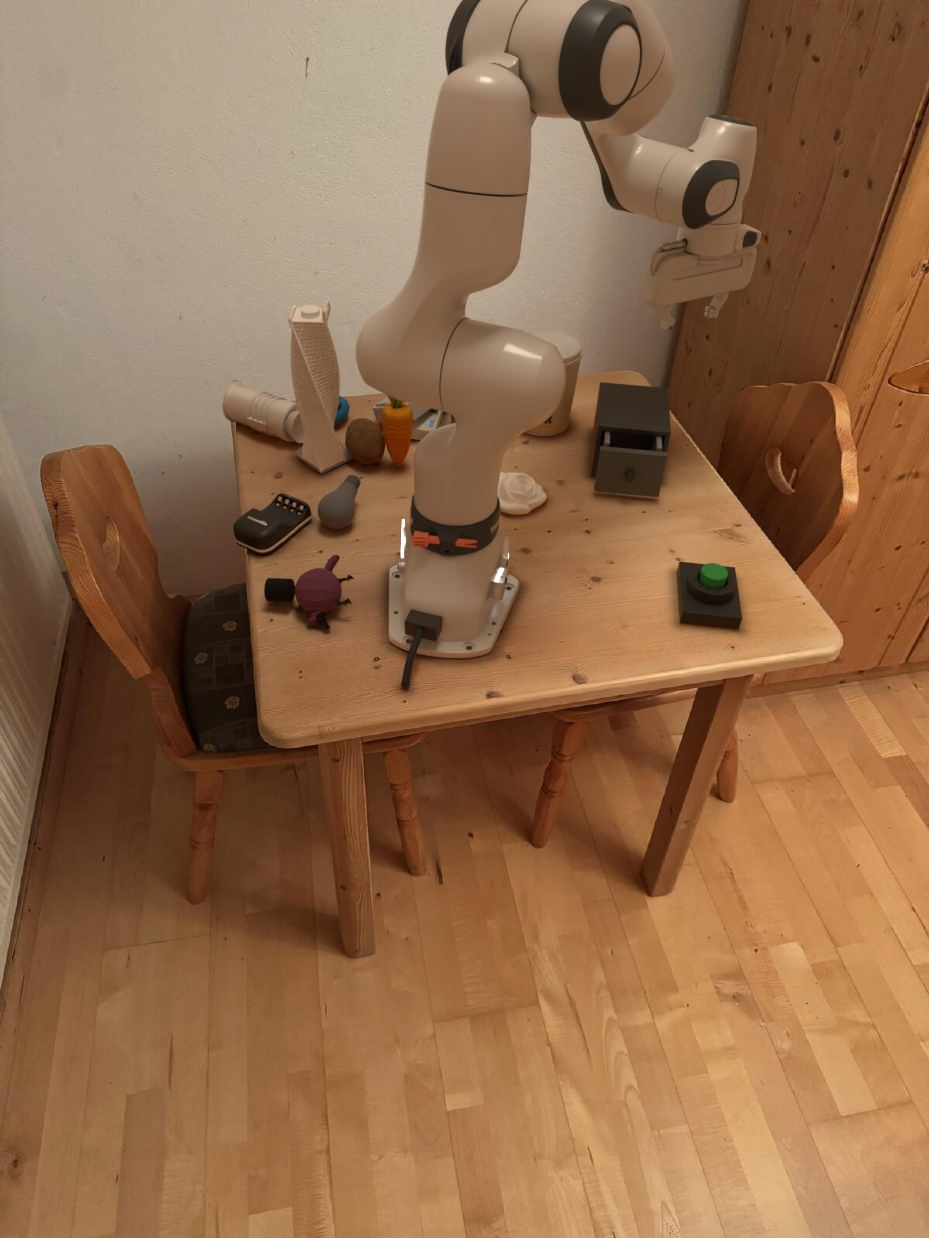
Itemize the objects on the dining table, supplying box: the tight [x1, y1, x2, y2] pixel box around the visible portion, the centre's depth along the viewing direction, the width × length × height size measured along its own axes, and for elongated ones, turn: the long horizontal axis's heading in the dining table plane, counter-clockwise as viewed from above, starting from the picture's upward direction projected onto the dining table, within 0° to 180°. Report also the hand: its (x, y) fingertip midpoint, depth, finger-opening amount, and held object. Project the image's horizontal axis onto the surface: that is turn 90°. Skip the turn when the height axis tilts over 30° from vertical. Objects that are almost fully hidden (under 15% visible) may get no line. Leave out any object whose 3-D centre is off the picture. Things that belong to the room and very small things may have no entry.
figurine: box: [263, 554, 355, 631], centre depth 121 cm, size 8×8×12 cm
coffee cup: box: [524, 329, 584, 437], centre depth 155 cm, size 12×12×15 cm
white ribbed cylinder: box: [221, 383, 305, 444], centre depth 154 cm, size 7×7×15 cm
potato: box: [344, 417, 386, 465], centre depth 148 cm, size 7×10×6 cm
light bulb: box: [317, 474, 362, 530], centre depth 136 cm, size 6×6×10 cm
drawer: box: [593, 430, 668, 498], centre depth 145 cm, size 15×10×8 cm
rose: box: [498, 471, 548, 516], centre depth 142 cm, size 10×4×10 cm
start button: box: [699, 562, 728, 589], centre depth 123 cm, size 4×4×2 cm
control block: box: [676, 561, 743, 631], centre depth 125 cm, size 11×8×4 cm
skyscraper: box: [287, 299, 356, 475], centre depth 140 cm, size 8×8×28 cm
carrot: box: [381, 395, 413, 467], centre depth 144 cm, size 5×5×15 cm
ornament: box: [334, 395, 351, 427], centre depth 158 cm, size 8×5×10 cm
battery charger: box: [232, 492, 313, 556], centre depth 134 cm, size 7×4×11 cm
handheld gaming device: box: [371, 395, 431, 423], centre depth 158 cm, size 9×15×4 cm, turn 154°
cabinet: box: [590, 381, 672, 477], centre depth 150 cm, size 15×12×10 cm
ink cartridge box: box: [381, 408, 445, 441], centre depth 158 cm, size 2×11×10 cm
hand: (688, 323), depth 144 cm, fingers open, 8 cm apart
